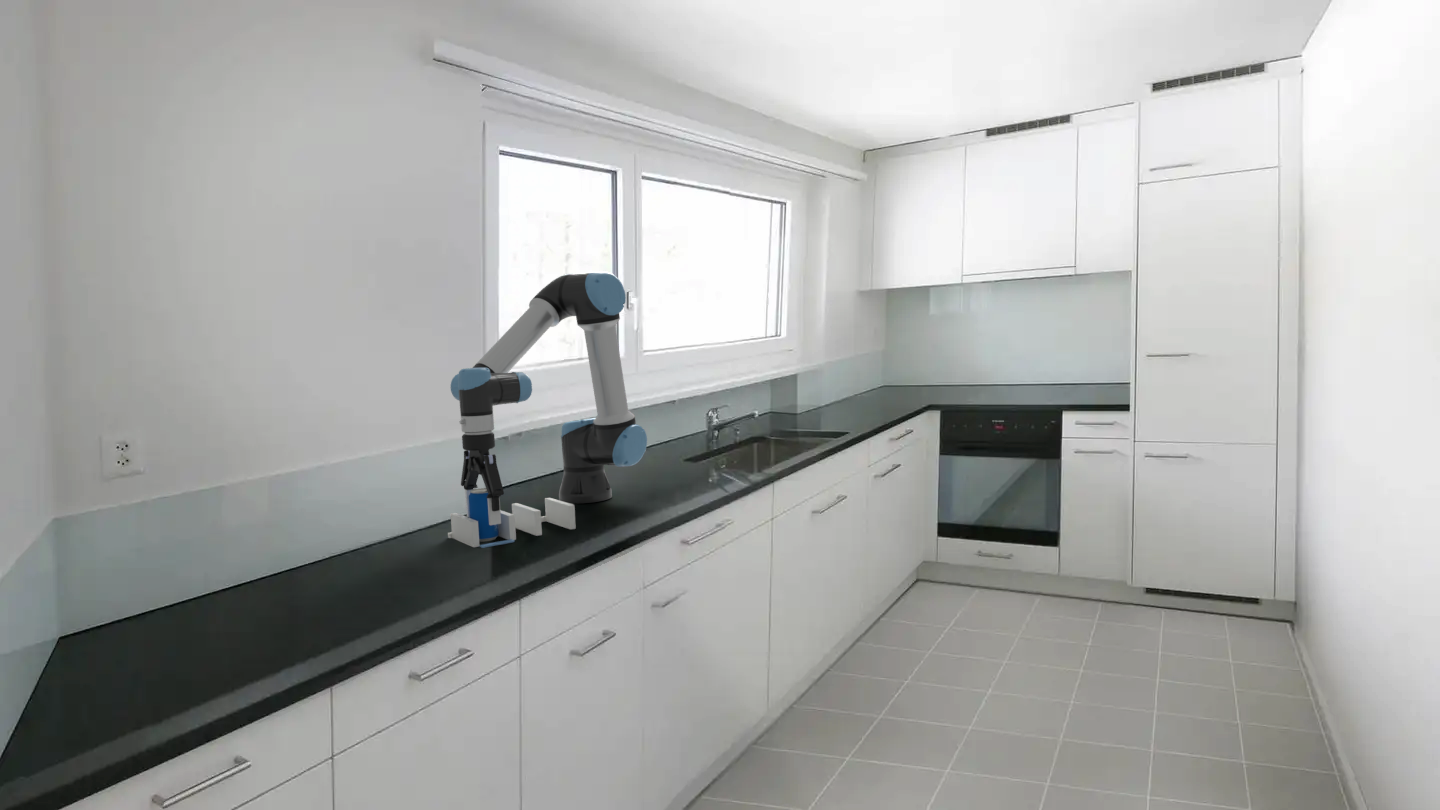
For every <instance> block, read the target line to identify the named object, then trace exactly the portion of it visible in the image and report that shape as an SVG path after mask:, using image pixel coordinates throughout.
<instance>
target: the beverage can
mask: <svg viewBox="0 0 1440 810" xmlns="http://www.w3.org/2000/svg"><path fill="white" fill-rule="evenodd" d="M473 489H474V490H471V491H470V495H469V512H470V517H469V518H471V519H474V520H476V521H478V529H479V543H483V542H491V541H494V540H496V538H497V537H499V536H498V535H499V532H498V524H496V525H489V515H488V500H487V498H486V497H487V495H488V492H487V489H486V487H485V488H484V487H483V488H482V487H481V488H473Z"/></svg>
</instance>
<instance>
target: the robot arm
mask: <svg viewBox="0 0 1440 810" xmlns="http://www.w3.org/2000/svg"><path fill="white" fill-rule="evenodd" d="M626 299H627V297H626V290H625V286H624V285H623V283H622V282H621V281H620V279H619V278H618V277H617V276H616V275H615V274H613V273H611V272H610V271H609V272H608V271H600V270H599V271H588V272H578V273H576V272H575V273H566V274H563V275H561V276H557V278H555V279H553V280H552V281H550V282H549V283H548V284H547V285H546V286H544V287H543V288H542V289H541V290H540V291H538V293H536V295H534V297H533V298H531V300H530V301H529V303H528V306H529V308H527V310H525V312H524V313H523V314H522V315H521V316H520V317H519V318H517V320H516V321H515V323H513V324H512V325H511V327H509V329H508V330H507V331H506V332H505V333H504V334H503V335H502V336H501V337H500V338H499V339H498V340H497V341H496V343H495V344H493V345H492V347H490V349H489V350H488V351H487V352H486V353H485V354H484V355H483V356H481V358H480V359H479V360H478V361H477V362H476V363H475V365H473V366H472V367H470V368H468V367H467V368H461V369H460V370H459V371H458V373H457V374H455V375H454V376H453V377H452V379H451V381H450V392H451V394H452V396H453V398H454V399H456V400H457V401H459V409H460V410H459V411H460V420H459V425H461V432H462V433H463V434H462V436H461V443H462V449H463V450H464V451H463V466H462V471H461V479H460V486H462V487H463V489H464V493H465V503H466V505H465V506H466V517H468V518H470V512H469V495H470V491H471V490H474V489H479V487H478V484H477V482H478V479H479V477H480V476H481V478H482V480H483V481H482V482H483V483H484V486H485V488H486V489H487V492H488V495H487V497H486V498H487V500H488V515H489V525H496V524H501V512H500V510H501V501H500V497H501V496H502V495H504V493H505V492H504V488H503V484H502V481H501V479H502V478H501V476H500V472H499V469H498V465H497V456H496V454H490V450H492V449H494V448H495V446H496V441H495V433H494V432H493V431H494V430H495V424H494V423H495V422H494V421H495V420H494V409H493V408H494V407H493V406H498V405H507V404H519V403H522V402H526V401H528V400H529V398H530V397H531V396H532V393H533V384H532V380H531V378H530V377H529V375H528V374H526V373H525V372H522V371H519V372H517V371H511V370H512V369H513V368H514V367H515V365H517V364H518V362H519V361H520V360H521V359H522V358H523V357H524V356H525V355H526V354H527V353H528V351H530V349H531V348H532V347H533V346H534V345H535V344H536V343H537V342H538V341H539V339H540V338H542V336H543V335H544V334H545V333H546V332H547V331H548V330H549V329H550V328H554V327H557V326H558V324H560V322H561V321H563V320H565V319H566V318H569V317H576V325H577V326H578V327H579V328H581V330H583V331H584V332H583V333H584V338H585V344H586V350H587V357H588V363H589V369H590V377H591V382H592V389H593V393H594V394H593V395H594V401H595V407H596V413H597V415H596V417H593V418H592V417H591V418H584V419H580V420H572V421H566V422H564V423H563V424H562V425H561V435H560V437H561V438H560V439H561V451H562V464H563V465H562V466H563V476H562V480H561V484H560V487H559V490H558V500H560V501H563V502H566V503H570V504H588V503H589V504H590V503H596V502H603V501H606V500H607V501H608V500H609V499H611V498H613V495H612V491H613V490H612V486H611V485H610V482H609V479H608V477H607V475H606V472H605V466H613V467H614V466H615V467H617V468H618V467H632V466H635V465H637V464H638V463H639V462H640V460H641V459H642V458H643V456H644V454H645V453H646V450H647V445H648V435H647V432H646V430H645V429H644V428H643V427H642V426H641V425H639V424H637V421H636V416H635V414H634V413H633V412H631V411H630V410H629V406H628V400H627V393H626V387H625V380H624V374H623V368H622V367H623V366H622V361H621V356H620V355H621V354H620V348H619V347H620V346H619V341H618V335H617V327H616V326H617V323H618V322H619V321H620V319H621V317H620V314H621V312H622V311H623V309H624V308H625V304H626ZM510 371H511V372H510Z"/></svg>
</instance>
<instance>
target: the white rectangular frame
mask: <svg viewBox="0 0 1440 810" xmlns="http://www.w3.org/2000/svg"><path fill="white" fill-rule="evenodd" d="M544 506H545V508H544V509H545V515H543V516H542V514H541V513H542V511H541V510H540V509H537V508H534V507H531V506H527V505H525V504H523V503H522V504H521V503H518V502H515V503H511V513H510V512H507V511H505V510H501V509H500V512H501V524H498V532H499V535H498V536H497V537H500V538H503V539H505V540H510V539H512V540H514V541H516V540H517V533H516V532H517V530H520V531H522V532H525V533H527V534H531V535H533V536H537V537H538V536H542V535H543V529H542V523H544V522H548V523H550V524H553V525H556V526H558V527H563V528H565V529H568V530H575V529H576V527H577V526H576V510H575V509H576V508H575V504H574V503H566V502H563V501H560V500H559V499H555V498H552V497H545V498H544ZM450 524H451V525H450V526H451V532H447V538H448V539H453V540H456V541H458V542H460V543H463V544H465V545H467V546H470V547H472V548H477V547H479V548H480V545H481V544H480V542H479V529H478V521H476V520H474V519H471V518H470V517H467V515H463V514H461V513H457V512H453V513H452V512H451V513H450Z"/></svg>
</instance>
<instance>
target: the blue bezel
mask: <svg viewBox="0 0 1440 810" xmlns="http://www.w3.org/2000/svg"><path fill="white" fill-rule="evenodd" d="M511 543H515V540H512V539H510V540H507V539H505V540H500V541H499V540H498V541H495V542H489V543H483V544H480V546H479V548H481V549H484V548H489V547H494V546H500V545H506V544H511Z"/></svg>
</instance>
